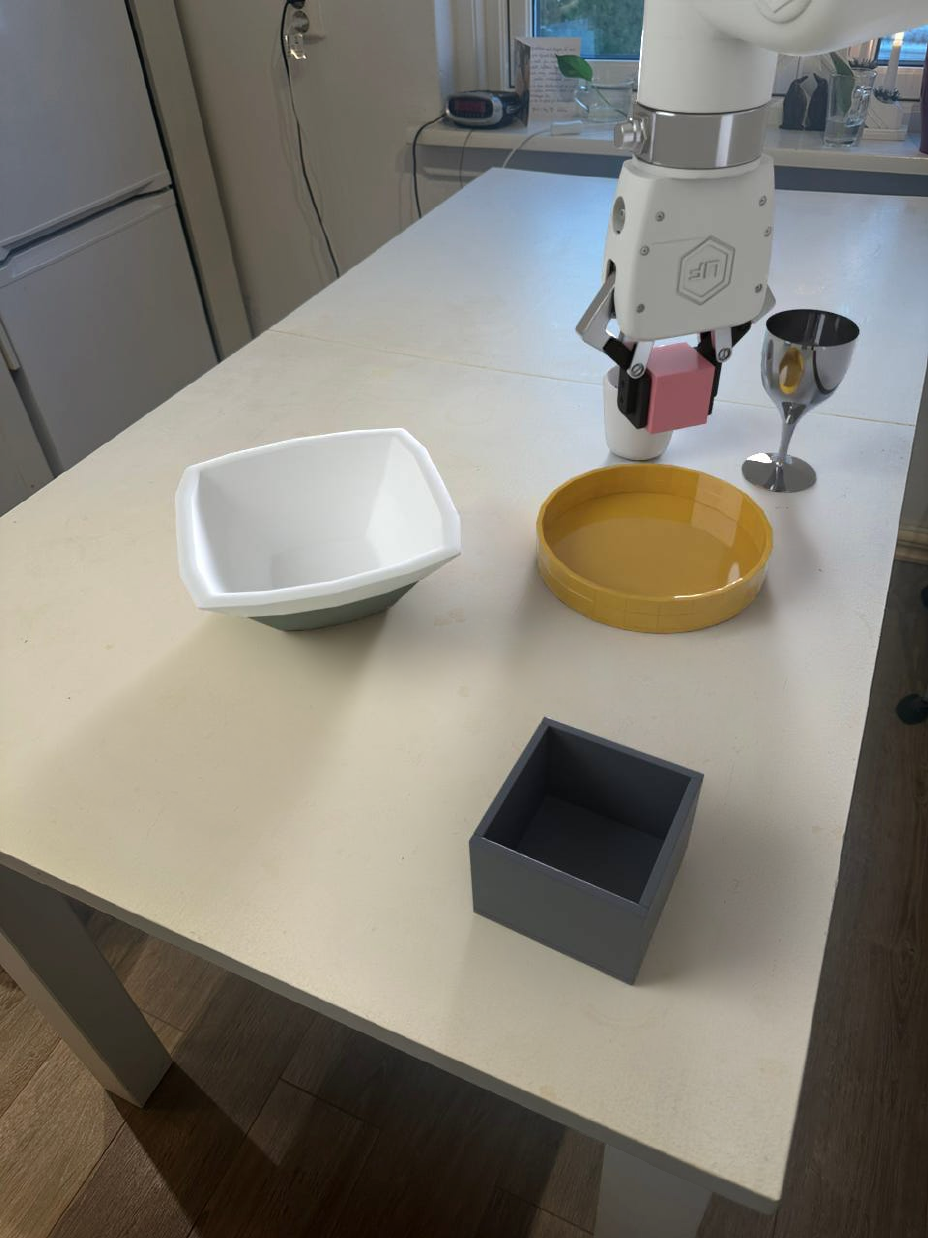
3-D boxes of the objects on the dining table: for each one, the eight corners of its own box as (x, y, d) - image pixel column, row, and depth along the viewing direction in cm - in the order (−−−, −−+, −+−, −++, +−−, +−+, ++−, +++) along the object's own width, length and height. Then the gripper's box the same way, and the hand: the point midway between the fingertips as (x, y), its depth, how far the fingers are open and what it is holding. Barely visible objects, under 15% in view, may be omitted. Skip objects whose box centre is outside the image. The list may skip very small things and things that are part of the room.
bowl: (418, 491, 87) (411, 416, 82) (485, 642, 71) (482, 560, 65) (194, 535, 83) (171, 459, 78) (210, 705, 67) (181, 624, 61)
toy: (678, 396, 66) (685, 340, 63) (706, 423, 63) (715, 366, 60) (624, 406, 65) (629, 350, 62) (650, 435, 62) (656, 377, 59)
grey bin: (541, 789, 60) (544, 715, 55) (687, 847, 56) (704, 773, 51) (473, 912, 53) (467, 841, 48) (632, 987, 49) (645, 918, 44)
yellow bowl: (696, 477, 87) (700, 446, 85) (811, 601, 73) (821, 568, 70) (506, 518, 83) (506, 487, 81) (588, 657, 69) (591, 625, 67)
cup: (632, 410, 97) (638, 342, 92) (699, 429, 94) (710, 359, 88) (584, 454, 91) (588, 384, 86) (654, 476, 87) (663, 404, 82)
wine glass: (825, 459, 88) (864, 315, 78) (814, 501, 83) (854, 352, 73) (745, 445, 91) (773, 304, 81) (729, 485, 86) (757, 339, 76)
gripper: (590, 169, 47) (576, 461, 59) (862, 132, 50) (796, 416, 62) (542, 137, 53) (538, 410, 65) (790, 105, 56) (742, 372, 68)
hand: (665, 411), depth 64 cm, fingers closed on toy, 4 cm apart
